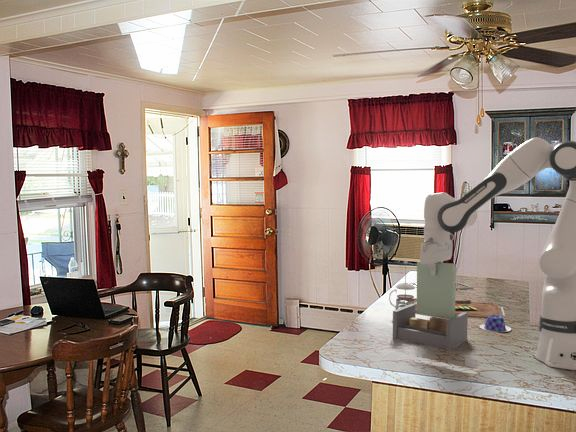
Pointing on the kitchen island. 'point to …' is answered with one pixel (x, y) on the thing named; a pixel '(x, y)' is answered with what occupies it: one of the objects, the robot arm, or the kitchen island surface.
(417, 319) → the offcut oak
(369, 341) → the kitchen island surface
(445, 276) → the tall panel
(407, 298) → the french press
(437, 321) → the offcut walnut
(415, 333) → the rack
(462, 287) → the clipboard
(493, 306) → the chopping board
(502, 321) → the pudding
